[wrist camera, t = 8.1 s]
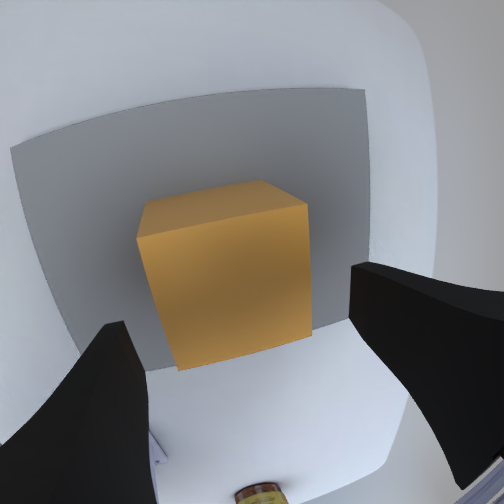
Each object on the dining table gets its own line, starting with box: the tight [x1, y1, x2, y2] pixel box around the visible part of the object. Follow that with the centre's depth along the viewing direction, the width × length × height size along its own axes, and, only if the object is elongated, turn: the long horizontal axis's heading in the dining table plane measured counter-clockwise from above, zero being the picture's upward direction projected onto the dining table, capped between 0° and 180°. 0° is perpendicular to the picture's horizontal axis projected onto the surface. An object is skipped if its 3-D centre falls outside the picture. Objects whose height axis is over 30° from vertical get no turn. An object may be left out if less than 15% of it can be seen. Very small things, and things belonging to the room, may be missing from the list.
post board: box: [10, 88, 370, 371], centre depth 14 cm, size 18×14×5 cm
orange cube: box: [136, 180, 312, 371], centre depth 13 cm, size 6×6×5 cm
